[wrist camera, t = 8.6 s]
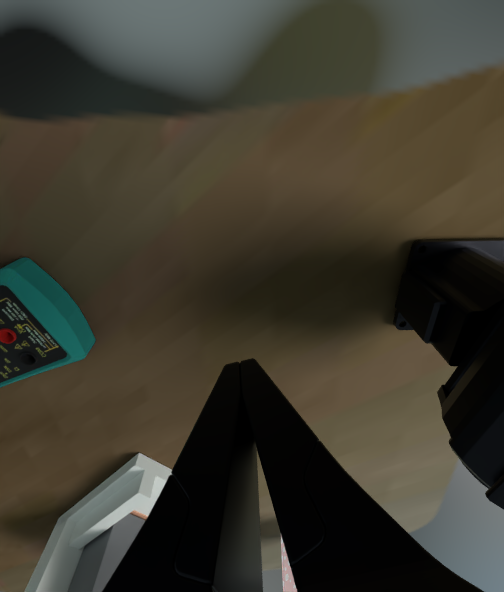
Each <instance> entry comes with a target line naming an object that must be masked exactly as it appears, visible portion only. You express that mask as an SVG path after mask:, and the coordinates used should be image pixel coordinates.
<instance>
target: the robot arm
mask: <svg viewBox="0 0 504 592" xmlns="http://www.w3.org/2000/svg"><path fill="white" fill-rule="evenodd" d="M421 246H423V249H422V250H421V251H418V249H419V247H421ZM395 308H396V312H395V317H394V321H393V324H394V325H395V327H396V328H397V329H398V330H415V332H416V333H417V334H418V335H419V336H420V337H421V339H422V340H423V341H424V342H425V343H431V344H432V345H433V346H434V348H435V349H436V350H437V351H438V352H439V353H440V354H441V356H442V357H443V358H444V359H445V360H446V361H447V363H448V364H449V365H450V366H458V367H457V368H456V370H455V371H454V373H453V374H452V375H451V377H450V378H449V380H448V381H447V382H446V384H445V385H442V386H441V387H440V389H439V390H438V392H437V394H438V397H439V400H440V404H441V407H442V419H443V421H444V423H445V425H446V427H447V429H448V431H449V433H450V436H451V439H450V440H449V444H450V446H451V448H452V450H453V451H454V452H455V454H456V455H457V456H458V457H459V459H460V460H461V462H462V463H463V465H464V466H465V467H466V468H467V469H468V470H469V472H470V473H471V474H472V475H473V476H474V477H475V478H476V479H477V480H479V481H480V482H481V483H482V484H483V485H484V486H486V487H487V488H488V490H487V491H486V493H485V494H486V497H487V498H488V499H489V500H490V501H491V502H493V503H494V504H496V505H497V506H499V507H501V508H502V509H504V239H440V240H418V241H416V242H414V244H413V245H412V247H411V250H410V255H409V259H408V263H407V267H406V271H405V273H404V274H403V275H402V279H401V283H400V287H399V291H398V296H397V300H396V304H395ZM402 321H404V322H403V323H402V324H400V322H402ZM256 447H257V450H256ZM257 451H258V454H259V458H260V461H261V465H262V468H263V472H264V475H265V479H266V483H267V486H268V490H269V493H270V497H271V500H272V504H273V507H274V511H275V514H276V518H277V522H278V525H279V529H280V532H281V536H282V539H283V543H284V546H285V550H286V554H287V557H288V561H289V564H290V568H291V571H292V575H293V578H294V582H295V586H296V589H297V592H484V591H482V590H481V589H479V588H477V587H476V586H474V585H472V584H471V583H469V582H468V581H466V580H464V579H463V578H461V577H460V576H458V575H457V574H455V573H454V572H452V571H451V570H449V569H448V568H447V567H445V566H444V565H443V564H442V563H440V562H439V561H438V560H437V559H435V558H434V557H433V556H432V555H431V554H430V553H429V552H427V551H426V550H425V549H424V548H423V547H422V546H421V545H420V544H419V543H418V542H417V541H415V540H414V539H413V538H412V537H411V536H410V535H409V534H408V533H407V532H406V531H405V530H404V529H403V528H402V527H401V526H400V525H399V524H398V523H397V522H396V521H395V520H394V519H393V518H392V517H391V516H390V515H389V514H388V513H387V512H386V511H385V510H384V509H383V508H382V507H381V506H380V505H379V504H378V503H377V502H376V501H375V500H374V499H372V498H371V497H370V496H369V495H368V494H367V493H366V492H365V491H364V490H363V489H362V488H361V487H360V486H359V484H358V483H357V482H356V481H355V480H354V479H353V478H352V477H351V476H350V475H349V474H348V473H347V472H346V471H345V470H344V469H343V468H342V466H341V465H340V464H339V463H338V462H337V460H336V459H335V458H334V457H333V456H332V455H331V453H330V452H329V451H328V450H327V448H326V447H325V446H324V445H323V443H322V442H321V441H319V439H318V437H317V436H316V435H315V434H314V432H313V431H312V430H311V429H310V427H309V426H308V425H307V424H306V422H305V421H304V420H303V419H302V417H301V416H300V415H299V414H298V412H297V411H296V410H295V409H294V407H293V406H292V405H291V404H290V402H289V401H288V400H287V399H286V397H285V396H284V395H283V394H282V392H281V391H280V390H279V389H278V387H277V386H276V385H275V384H274V382H273V381H272V380H271V378H270V377H269V376H268V375H267V373H266V372H265V371H264V370H263V368H262V367H261V366H260V365H259V363H258V362H257V361H256V360H255V359H253V358H252V359H247V360H243V361H241V362H240V363H239V362H234V363H230V364H226V365H225V366H224V368H223V370H222V372H221V374H220V376H219V378H218V380H217V382H216V384H215V386H214V388H213V390H212V392H211V394H210V396H209V398H208V400H207V402H206V404H205V406H204V408H203V410H202V412H201V414H200V416H199V418H198V420H197V422H196V424H195V426H194V428H193V430H192V432H191V434H190V436H189V438H188V440H187V442H186V444H185V446H184V448H183V450H182V452H181V454H180V455H179V457H178V459H177V461H176V463H175V465H174V467H173V469H172V471H171V473H172V475H169V477H168V479H167V481H166V483H165V485H164V487H163V489H162V491H161V493H160V495H159V497H158V499H157V500H156V502H155V504H154V506H153V508H152V510H151V512H150V514H149V515H148V517H147V519H146V520H145V522H144V524H143V525H142V527H141V529H140V530H139V532H138V534H137V536H136V537H135V539H134V541H133V542H132V544H131V546H130V547H129V549H128V550H127V552H126V554H125V555H124V557H123V558H122V560H121V562H120V563H119V565H118V566H117V568H116V570H115V571H114V573H113V575H112V576H111V578H110V579H109V581H108V583H107V584H106V586H105V587H104V589H103V591H102V592H263V581H262V559H261V537H260V515H259V493H258V471H257Z"/></svg>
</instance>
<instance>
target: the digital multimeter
mask: <svg viewBox="0 0 504 592" xmlns="http://www.w3.org/2000/svg"><path fill="white" fill-rule="evenodd" d="M95 341H96V339H95V337H94V335H93V333H92V331H91V329H90V327H89V325H88V322H87V321H86V319H85V317H84V316H83V314H82V312H81V310H80V309H79V307H78V306H77V304H76V303H75V302H74V301H73V299H72V298H71V297H70V296H69V294H68V293H67V292H66V291H65V290H64V289H63V288H62V287H61V286H60V285H59V284H58V283H57V282H56V281H55V280H54V279H53V278H52V277H51V276H50V275H48V274H47V273H46V272H45V271H44V270H43V269H41V268H40V267H39V266H38V265H37V264H36V263H34V262H33V261H32V260H31V259H29V258H26V257H24V258H20V259H18V260H16V261H14V262H12V263H11V264H9V265H7V266H5V267H3V268H1V269H0V387H3V386H5V385H8V384H10V383H13V382H16V381H19V380H22V379H25V378H28V377H30V376H33V375H36V374H39V373H42V372H45V371H48V370H51V369H54V368H57V367H60V366H63V365H66V364H70V363H73V362H76V361H79V360H82V359H84V358H85V357H86V355H87V354H88V352H89V351H90V349H91V348H92V346H93V345H94V343H95Z"/></svg>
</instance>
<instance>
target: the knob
mask: <svg viewBox="0 0 504 592" xmlns="http://www.w3.org/2000/svg"><path fill="white" fill-rule="evenodd" d="M144 522H145V520H143V519H141V518H138V517H136V516H134V515H132V514H128V515H126V516H125V517H124V518H122V519H121V520H119V521H118V522H117V523H115V524H114V525H112V526H111V527H110V528H108V529H107V530H105V531H104V532H103V533H101V534H100V535H99V536H97V537H96V538H94V539H93V540H92V541H90V542H89V543H87V544H86V545H85V546H84V549H83V552H82V554H81V557H80V560H79V562H78V565H77V568H76V570H75V573H74V576H73V578H72V581H71V584H70V586H69V589H68V592H102V591H103V589H104V587H105V586H106V584H107V583H108V581H109V579H110V578H111V576H112V575H113V573H114V571H115V570H116V568H117V566H118V565H119V563H120V562H121V560H122V558H123V557H124V555H125V554H126V552H127V550H128V549H129V547H130V546H131V544H132V542H133V541H134V539H135V537H136V536H137V534H138V532H139V530H140V529H141V527H142V525H143V524H144Z"/></svg>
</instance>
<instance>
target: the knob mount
mask: <svg viewBox="0 0 504 592" xmlns="http://www.w3.org/2000/svg"><path fill="white" fill-rule="evenodd" d="M171 471H172V470H171V469H170V468H168V467H166V466H164V465H162V464H160V463H158V462H156V461H154V460H152V459H150V458H149V457H147V456H145V455H143V454H141V453H138V454H137V455H136V456H134V457H133V458H132V459H131V460H130V461H128V462H127V463H126V464H125V465H123V466H122V467H121V468H120V469H118V470H117V471H116V472H115V473H114V474H112V475H111V476H110V477H109V478H107V479H106V480H105V481H104V482H102V483H101V484H100V485H99V486H97V487H96V488H95V489H94V490H93V491H91V492H90V493H89V494H88V495H86V496H85V497H84V498H83V499H81V500H80V501H79V502H78V503H77V504H75V505H74V506H73V507H72V508H70V509H69V510H68V511H67V512H65V513H64V514H63V515H62V516H61V517H59V519H58V521H57V523H56V525H55V527H54V529H53V532H52V534H51V536H50V538H49V540H48V542H47V544H46V547H45V549H44V551H43V553H42V555H41V557H40V559H39V562H38V564H37V566H36V568H35V570H34V572H33V575H32V577H31V579H30V581H29V583H28V585H27V587H26V590H25V592H68V589H69V586H70V584H71V581H72V578H73V576H74V573H75V570H76V568H77V565H78V562H79V560H80V557H81V554H82V552H83V549H84V546H85V545H86V544H87V543H89V542H90V541H92V540H93V539H94V538H96V537H97V536H99V535H100V534H101V533H103V532H104V531H105V530H107V529H108V528H110V527H111V526H112V525H114V524H115V523H117V522H118V521H119V520H121V519H122V518H124V517H125V516H126V515H128V514H132V515H134V516H136V517H138V518H141V519H143V520H146V519H147V517H148V515H149V514H150V512H151V510H152V508H153V506H154V504H155V502H156V500H157V499H158V497H159V495H160V493H161V491H162V489H163V487H164V485H165V483H166V481H167V479H168V477H169V475H172V473H171Z"/></svg>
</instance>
